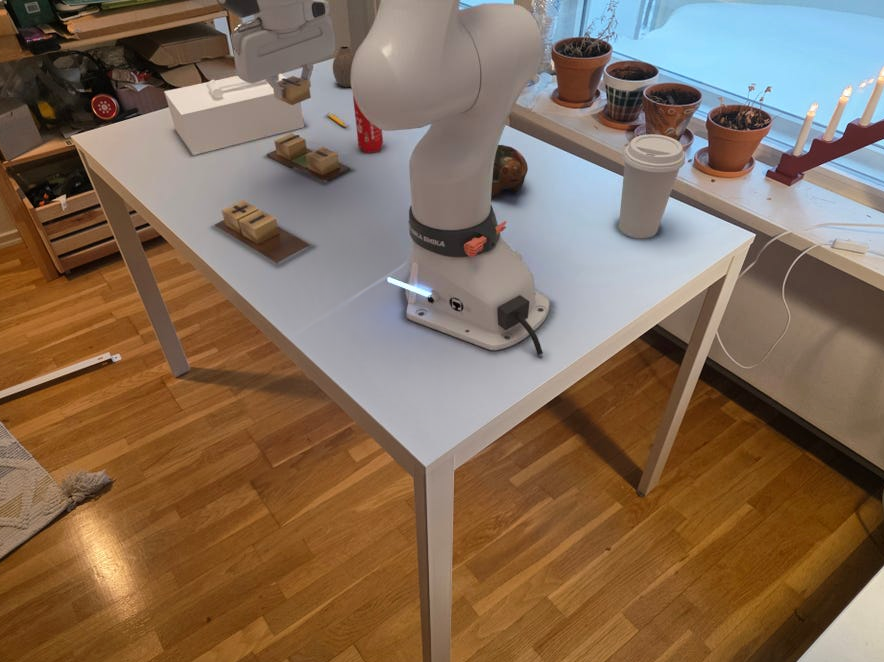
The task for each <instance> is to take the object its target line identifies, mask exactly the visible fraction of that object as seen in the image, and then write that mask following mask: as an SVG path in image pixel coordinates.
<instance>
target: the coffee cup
mask: <svg viewBox="0 0 884 662" xmlns="http://www.w3.org/2000/svg"><path fill="white" fill-rule="evenodd" d="M683 147H684V146H683V145H682V143H681V142H680V141H678V140H677V139H675V138H673V137H670V136H667V135H663V134H656V133H655V134H654V133H653V134H651V133H650V134H642V135H638V136H635V137H634V138H632V139H631V140H630V142H629V144H628V145H627V146H626V147H625V148H624V150H623V152H622V159H623V161H624V167H623V168H624V169H623V179H622V189H621V198H620V208H619V210H620V211H619V217H618V218H619V219H618V220H619V221H618V229H619V231H620V232H621V233H622V234H623V235H625V236H627V237H630V238H634V239H648V238H652V237H654V236H656V235H657V233H658V231H659V228H660V225H661V222H662V219H663V216H664V214H665V211H666V208H667V205H668V203H669V200H670V196H671V193H672V191H673V188H674V186H675V182H676V180H677V177H678V174H679V171H680V169H681V168H682V167H683V166H684V165H685V164H686V155H685V152H684V148H683Z"/></svg>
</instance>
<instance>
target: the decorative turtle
mask: <svg viewBox="0 0 884 662" xmlns="http://www.w3.org/2000/svg"><path fill="white" fill-rule="evenodd" d="M528 171H529V166H528V163H527V161H526V159H525V157H524V156H523V154H522V153H521V152H520V151H518V150H517V149H516V148H514V147H512V146H508V145H504V144H498V148H497V151H496V155H495V160H494V167H493V178H492V192H491V199H494V198H495V197H497V196H498V195H499V194H501V192H502V191H504V190H506V189H508V190H509V191H511V192H512V193H513V194H518V193H520V191H521V190H522V188H523V185H524V183H525V179H526V176H527V173H528Z"/></svg>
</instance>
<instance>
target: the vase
mask: <svg viewBox="0 0 884 662" xmlns="http://www.w3.org/2000/svg"><path fill="white" fill-rule="evenodd" d="M354 56H355V53H354V52H353V51H352V50H351V48H350V46H348V45H342V46H340V47H339V48H338V51H337V53H336V55H335V56H334V58H333V61H332V74H333V77H334V79H335V81H336V82H337V84H338V85H339V86H341V87H343V88H351V67H352V62H353V58H354Z"/></svg>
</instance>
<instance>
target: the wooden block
mask: <svg viewBox="0 0 884 662" xmlns="http://www.w3.org/2000/svg"><path fill="white" fill-rule="evenodd" d="M286 78H287V79H285V78H283V79H282V80H281V81H279V82H277V83H278V84H279V86H281V87H284V88H285V91H286V97H284V98H282V99H278V100H281V101H283V102H286V103H288V104H290V105H294V104H297V103H299V102H300V103H301V102H304V101H306V100H308V99H311V98H312V95H311V90H310V89H311V88H309V82H308V81H305V80H303V79H300V77H298V76H294V75H292V76H289V77H286Z"/></svg>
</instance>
